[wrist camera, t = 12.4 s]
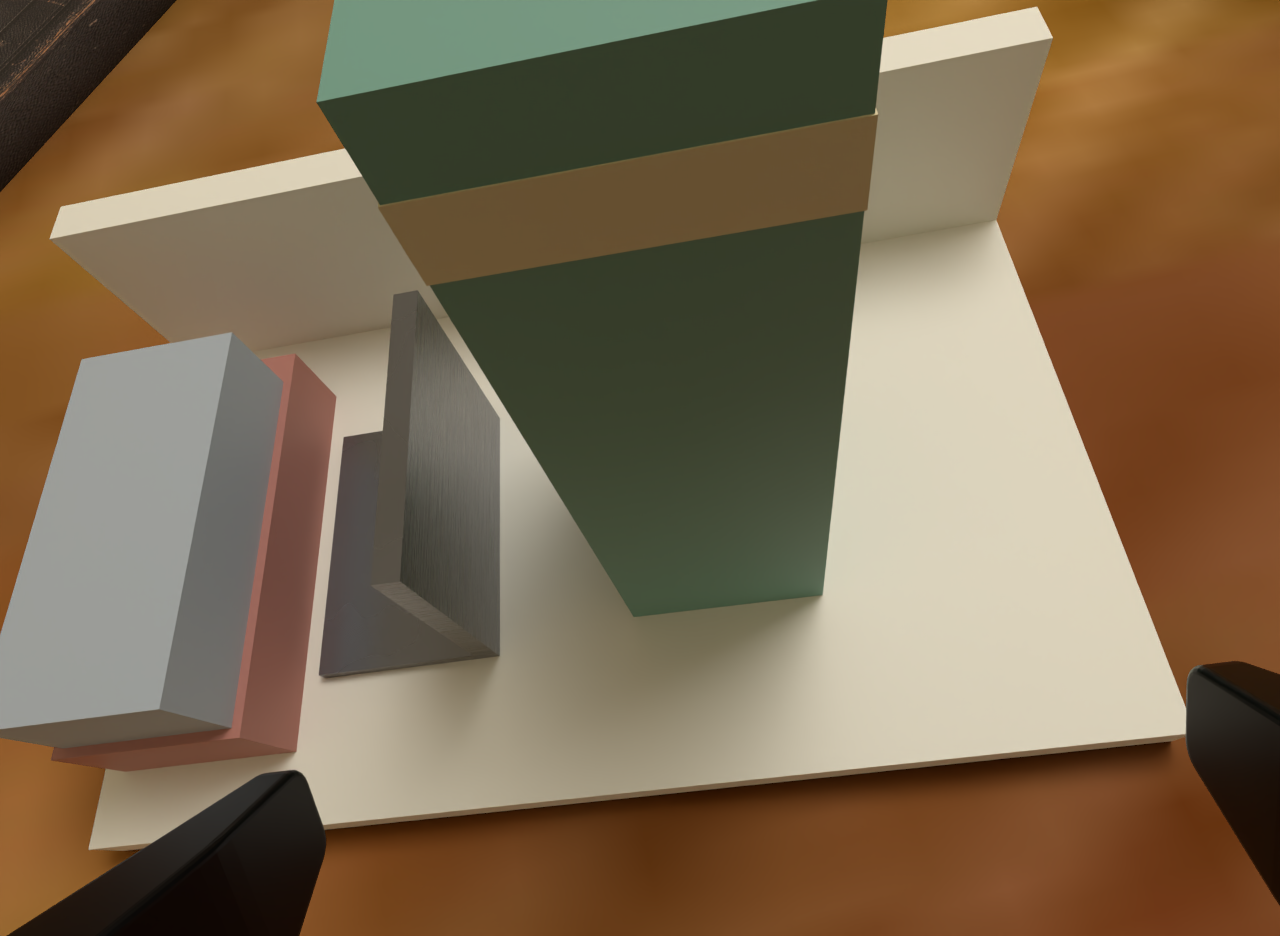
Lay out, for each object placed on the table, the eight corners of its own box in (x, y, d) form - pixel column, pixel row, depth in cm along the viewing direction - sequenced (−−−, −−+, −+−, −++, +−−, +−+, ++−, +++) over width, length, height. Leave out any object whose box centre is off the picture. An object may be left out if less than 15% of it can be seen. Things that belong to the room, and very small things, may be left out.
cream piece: (1172, 740, 15) (1372, 670, 10) (123, 851, 18) (-160, 840, 12) (977, 219, 22) (1037, 6, 16) (221, 353, 24) (60, 207, 19)
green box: (824, 595, 17) (892, -13, 5) (632, 618, 17) (314, 104, 6) (787, 392, 19) (778, -338, 8) (619, 416, 19) (374, -235, 8)
